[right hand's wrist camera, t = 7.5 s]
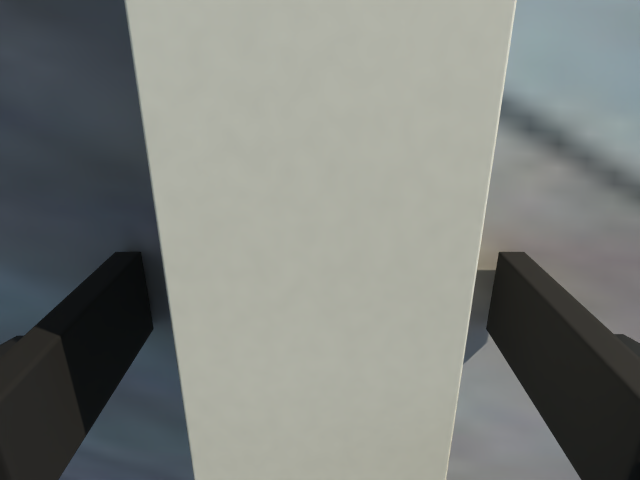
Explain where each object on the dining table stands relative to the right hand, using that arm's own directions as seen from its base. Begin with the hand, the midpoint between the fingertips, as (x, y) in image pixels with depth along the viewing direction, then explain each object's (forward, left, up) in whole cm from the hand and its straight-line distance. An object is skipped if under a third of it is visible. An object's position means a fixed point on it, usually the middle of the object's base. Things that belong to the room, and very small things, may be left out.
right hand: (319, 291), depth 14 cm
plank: (+12, 0, 0) cm, 12 cm away
